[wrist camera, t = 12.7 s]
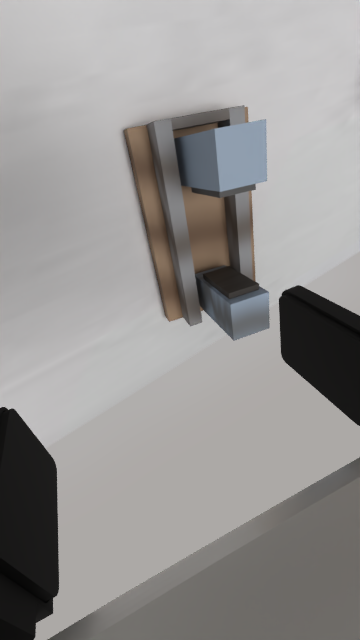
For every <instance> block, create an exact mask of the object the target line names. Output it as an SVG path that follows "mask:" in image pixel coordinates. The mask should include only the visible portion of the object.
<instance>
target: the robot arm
mask: <svg viewBox="0 0 360 640" xmlns="http://www.w3.org/2000/svg"><path fill="white" fill-rule="evenodd" d="M279 312H280V336H281V354H282V358H283V360H284V361H285V362H286V363H287V364H288V365H289V366H290V367H292V368H293V369H294V370H295V371H296V372H297V373H298V374H300V375H301V376H302V377H303V378H304V379H305V380H306V381H308V382H309V383H310V384H311V385H312V386H313V387H315V388H316V389H317V390H318V391H319V392H320V393H321V394H322V395H324V396H325V397H326V398H327V399H328V400H329V401H331V402H332V403H333V404H334V405H335V406H336V407H337V408H339V409H340V410H341V411H342V412H343V413H344V414H345V415H347V416H348V417H349V418H350V419H351V420H352V421H354V422H355V423H356V424H357V425H359V426H360V316H359V315H357V314H355V313H353V312H351V311H349V310H347V309H345V308H343V307H341V306H339V305H337V304H335V303H333V302H331V301H329V300H327V299H325V298H323V297H321V296H320V295H318V294H316V293H314V292H312V291H310V290H308V289H306V288H304V287H302V286H295V287H293V288H290V289H288V290H285V291H284V292H283V293H282V296H281V297H280V298H279ZM57 515H58V514H57V468H56V464H55V462H54V460H53V458H52V457H51V455H50V454H49V453H48V452H47V450H46V449H45V448H44V446H43V445H42V444H41V442H40V441H39V440H38V439H37V437H36V436H35V435H34V434H33V432H32V431H31V430H30V428H29V427H28V426H27V425H26V423H25V422H24V421H23V419H22V418H21V417H20V416H19V414H18V413H17V412H16V411H15V410H14V409H9V410H8V409H7V408H5V407H1V408H0V640H34V638H35V629H36V623H37V622H38V621H40V620H42V619H44V618H46V617H47V616H49V615H51V614H53V597H55V596H57V594H58V590H59V569H58V568H59V567H58V516H57ZM48 640H360V458H358V459H356V460H354V461H353V462H351V463H349V464H347V465H346V466H344V467H342V468H340V469H339V470H337V471H335V472H333V473H332V474H330V475H328V476H326V477H324V478H323V479H321V480H319V481H317V482H316V483H314V484H312V485H310V486H309V487H307V488H305V489H304V490H302V491H300V492H298V493H297V494H295V495H293V496H291V497H290V498H288V499H286V500H284V501H283V502H281V503H279V504H277V505H276V506H274V507H272V508H270V509H269V510H267V511H265V512H264V513H262V514H260V515H259V516H257V517H255V518H253V519H252V520H250V521H248V522H246V523H244V524H243V525H241V526H240V527H238V528H236V529H234V530H232V531H231V532H229V533H227V534H225V535H224V536H222V537H220V538H219V539H217V540H215V541H214V542H212V543H210V544H208V545H206V546H205V547H203V548H201V549H200V550H198V551H196V552H194V553H193V554H191V555H189V556H188V557H186V558H184V559H182V560H181V561H179V562H177V563H176V564H174V565H172V566H170V567H169V568H167V569H165V570H164V571H162V572H160V573H158V574H157V575H155V576H153V577H152V578H150V579H148V580H147V581H145V582H143V583H141V584H140V585H138V586H136V587H134V588H133V589H131V590H129V591H128V592H126V593H124V594H122V595H121V596H119V597H117V598H116V599H114V600H112V601H111V602H109V603H107V604H106V605H104V606H102V607H101V608H99V609H97V610H96V611H94V612H93V613H91V614H89V615H88V616H86V617H84V618H83V619H81V620H79V621H78V622H76V623H74V624H73V625H71V626H69V627H68V628H66V629H64V630H63V631H61V632H59V633H58V634H56V635H55V636H53V637H51V638H50V639H48Z"/></svg>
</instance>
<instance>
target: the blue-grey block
mask: <svg viewBox="0 0 360 640" xmlns="http://www.w3.org/2000/svg"><path fill="white" fill-rule="evenodd" d="M174 142H175V149H176V155H177V162H178V168H179V175H180V181H181V186H187V187H191V190H192V193H197V194H202V195H207V196H212V197H217V198H222V197H226V196H231V195H235V194H239V193H243V192H247V191H252V190H256V188H255V184H256V183H260V182H265V181H267V149H266V119H265V120H259V121H254V122H248V123H243V124H237V125H232V126H227V127H221V128H216V129H211V130H207V131H203V132H199V133H195V134H191V135H187V136H183V137H179V138H175V139H174Z"/></svg>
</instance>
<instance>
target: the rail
mask: <svg viewBox="0 0 360 640" xmlns="http://www.w3.org/2000/svg"><path fill="white" fill-rule="evenodd" d="M243 123H248V107H244V106H238V107H232V108H227V109H221V110H216V111H210V112H204V113H199V114H193V115H187V116H182V117H176V118H171V119H165V120H159V121H154V122H152V123H150V124H148V125H144V126H138V127H133V128H127V129H125V130H124V133H125V138H126V142H127V147H128V151H129V155H130V160H131V164H132V169H133V173H134V178H135V182H136V187H137V191H138V195H139V200H140V204H141V209H142V213H143V218H144V222H145V227H146V231H147V235H148V240H149V244H150V249H151V253H152V258H153V262H154V267H155V271H156V275H157V280H158V284H159V289H160V293H161V298H162V302H163V307H164V311H165V315H166V318H167V319H168V320H169V322H170V321H173V320H176V319H179V318H182V317H183V318H184V319H185V320H186V321H187V323H188V324H189V325H190V326H193V325H196V324H198V323H201V322H202V318H201V311H203V310H204V311H205V312H206V313H207V314H208V315H209V316H210V317H211V318H212V319H213V320H214V321H215V322H216V323H217V324H218V325H219V326H220V327H221V328H222V329H223V330H224V331H225V332H226V333H227V334H228V335H229V336H230V337H231V338H232V339H233V340H237V339H240V338H243V337H246V336H248V335H251V334H254V333H257V332H259V331H262V330H265V329H268V328H269V292H268V291H266V290H265V289H263V288H261V287H260V286H259V284H258V283H257V282H255V262H254V240H253V217H252V194H251V191H247V192H243V193H239V194H235V195H231V196H226V197H222V198H217V197H212V196H207V195H202V194H197V193H192V190H191V187H187V186H181V181H180V175H179V168H178V162H177V155H176V149H175V142H174V139H175V138H179V137H183V136H187V135H191V134H195V133H199V132H203V131H207V130H211V129H216V128H221V127H227V126H232V125H237V124H243Z"/></svg>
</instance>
